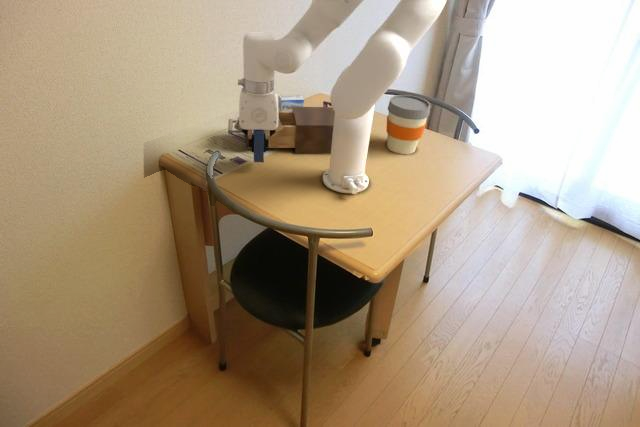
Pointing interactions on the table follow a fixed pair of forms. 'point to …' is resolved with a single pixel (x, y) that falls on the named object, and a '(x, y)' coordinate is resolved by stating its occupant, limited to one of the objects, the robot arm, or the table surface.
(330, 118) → the cabinet
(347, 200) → the table surface
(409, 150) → the reusable coffee cup
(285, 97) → the medicine box
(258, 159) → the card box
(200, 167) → the table surface
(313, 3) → the robot arm
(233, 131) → the drawer
